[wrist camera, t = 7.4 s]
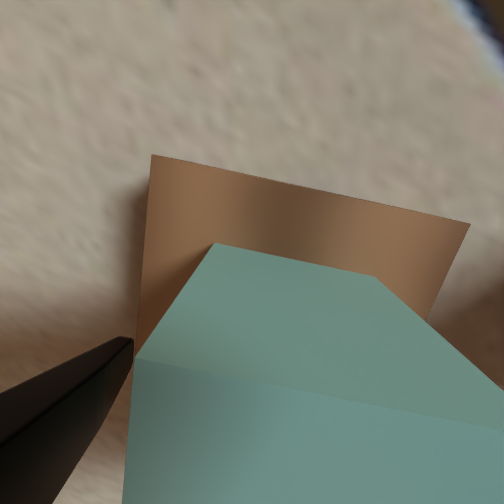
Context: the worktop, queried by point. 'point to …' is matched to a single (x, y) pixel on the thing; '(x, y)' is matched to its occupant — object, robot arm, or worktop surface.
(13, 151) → the worktop surface
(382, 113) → the worktop surface
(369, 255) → the walnut base
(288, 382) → the teal block
